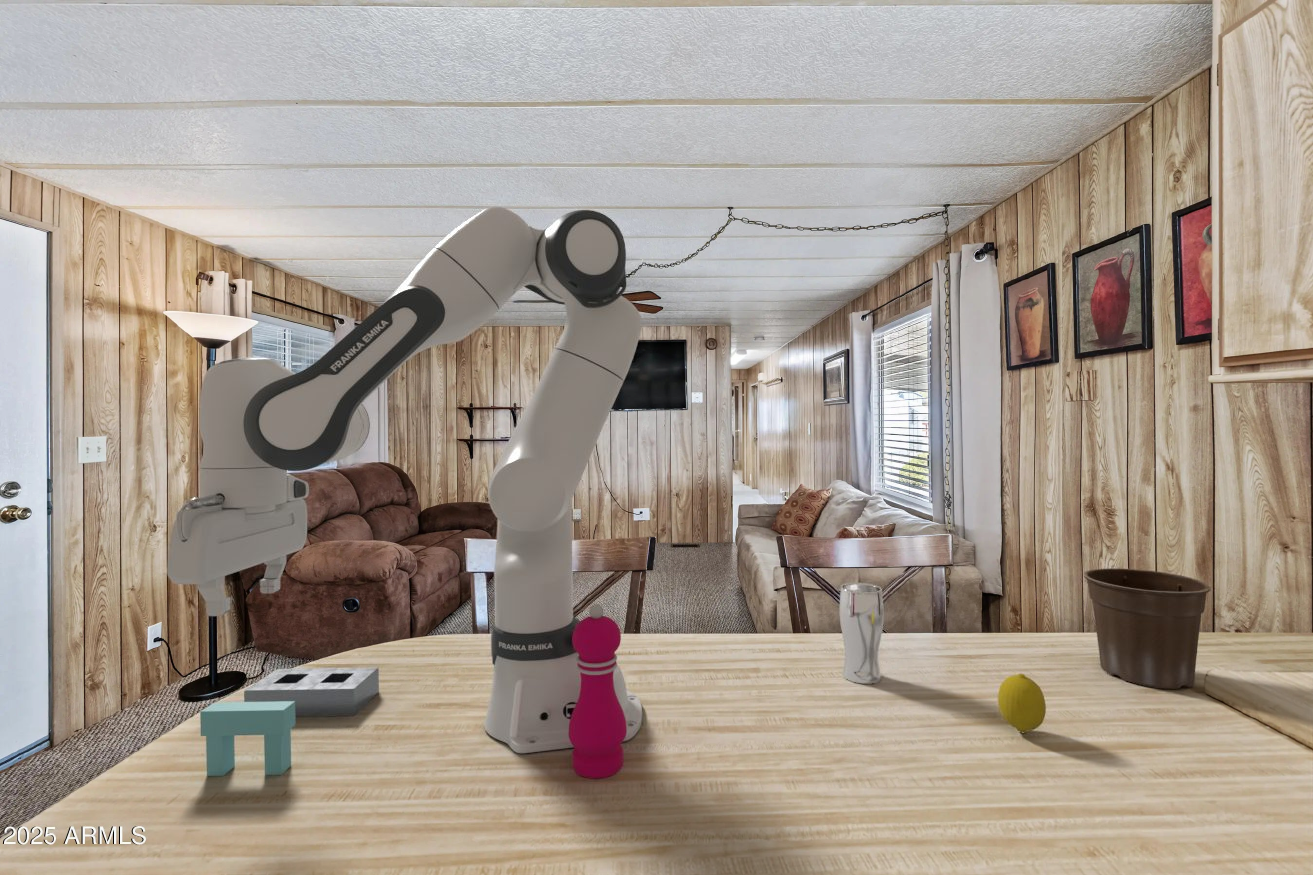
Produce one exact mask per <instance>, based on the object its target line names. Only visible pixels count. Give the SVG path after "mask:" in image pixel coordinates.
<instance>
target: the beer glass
mask: <svg viewBox="0 0 1313 875" xmlns="http://www.w3.org/2000/svg"><path fill="white" fill-rule="evenodd" d="M883 599H884V598H883V588H882V587H881V586H879V585H876V584H872V583H867V582H847V583H843V584H841V585H840V593H839V622H840V623H839V624H840V630H841V635H842V639H843V640H842V642H843V646H844V664H843V668H842V676H843V677H844V679H846V680H847V679H848V681H849V680H850V681H849V682H852V683H855V682H856V684H862V685H872V683H874V684H877V683H879V682H880V681H881V680H882V675H881V674H882V673H881V669H880V663H879V651H880V644H881V641H882V633H883V629H884V628H883V627H884V600H883ZM878 681H879V682H878ZM876 682H877V683H876Z"/></svg>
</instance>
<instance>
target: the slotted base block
mask: <svg viewBox="0 0 1313 875" xmlns="http://www.w3.org/2000/svg"><path fill="white" fill-rule="evenodd" d="M282 674H283V675H282ZM275 676H277V677H275ZM256 684H257V685H256ZM379 684H380V681H379V666H377V667H376V666H373V667H371V666H370V667H365V666H364V667H318V668H317V667H313V668H310V667H309V668H307V667H304V668H300V667H299V668H277V669H276V670H274V671H272V672H270V673H269V674H268V675H266V676H265V677H263V678H261V679H260V680H258V681H256V682H255V683H253V684H251V686H249V687H247V688H246V689H244V690H245V691H243V695H244V696H243V702H277V701H295V718H300V717H304V718H305V717H306V718H307V717H311V718H312V717H355V716H356V715H357V714H358V713H359V712H360V711H361V710H362V709H363V708H364V707H365V706H366V705H367V704H369V702H370V701H371V700H372V699H374V697H375V696H376V695H378V694H379V692H380V689H379V688H380V685H379Z"/></svg>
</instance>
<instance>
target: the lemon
mask: <svg viewBox="0 0 1313 875" xmlns="http://www.w3.org/2000/svg"><path fill="white" fill-rule="evenodd" d="M997 703H998V704H997V705H998V708H999V712H1000V714H1001V716H1002V718H1003V719H1004V720H1005V721H1006V723H1008V725H1010V726H1012V727H1013V728H1015V729H1016V730H1017V731H1018V732H1019V731H1020V732H1025V733H1027V732H1028V731H1033V730H1035V729H1037V728H1039V727H1040V726H1042V724H1043V722H1044V719H1045V717H1046V711H1047V707H1046V699H1045V696H1044V694H1043V691H1042V689H1041V688H1040V686H1039V685H1038V683H1036V682H1035V681H1034V680H1033V679H1031V678H1029V677H1027V676H1026V675H1025V674H1024V673H1018V674H1015V675H1010V676H1009V677H1007V678H1005V679H1004V680H1003V681H1002V682H1001V684H1000V686H999V690H998V696H997ZM1020 732H1019V733H1020Z"/></svg>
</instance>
